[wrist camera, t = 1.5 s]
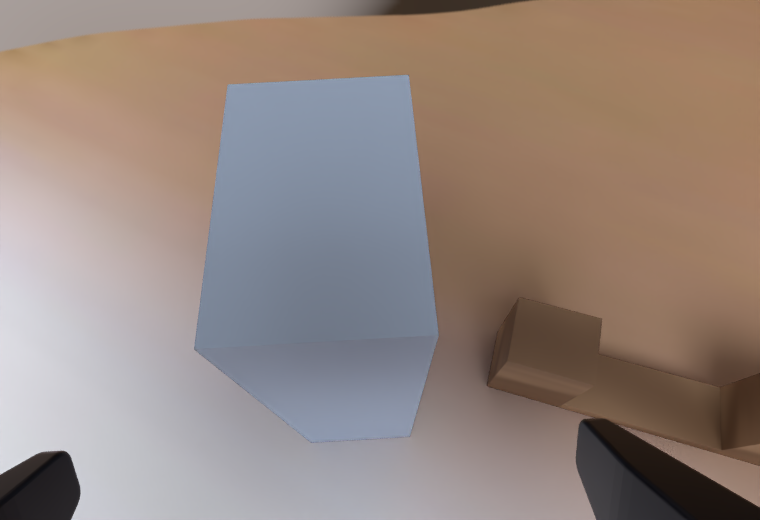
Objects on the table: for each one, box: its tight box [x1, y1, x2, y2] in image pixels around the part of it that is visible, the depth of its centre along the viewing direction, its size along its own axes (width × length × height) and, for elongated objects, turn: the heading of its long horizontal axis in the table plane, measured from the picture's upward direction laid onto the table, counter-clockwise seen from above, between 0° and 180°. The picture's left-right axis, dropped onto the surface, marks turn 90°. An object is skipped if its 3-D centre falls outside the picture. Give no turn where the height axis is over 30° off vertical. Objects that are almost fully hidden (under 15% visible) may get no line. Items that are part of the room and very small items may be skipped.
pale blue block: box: [194, 75, 439, 443], centre depth 15 cm, size 6×4×13 cm, turn 3°
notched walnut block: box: [487, 297, 760, 466], centre depth 18 cm, size 2×16×4 cm, turn 73°
